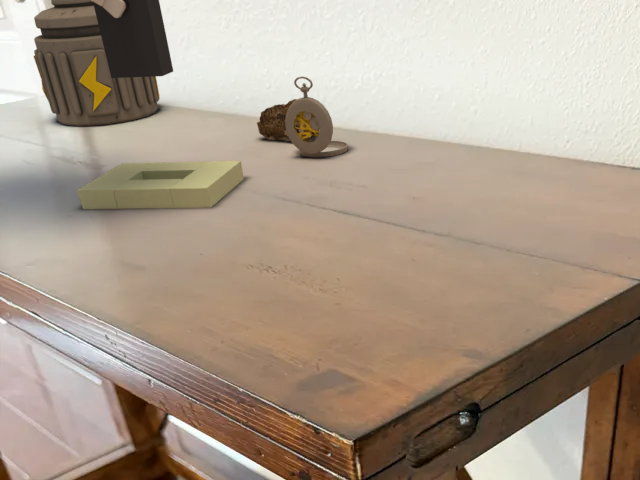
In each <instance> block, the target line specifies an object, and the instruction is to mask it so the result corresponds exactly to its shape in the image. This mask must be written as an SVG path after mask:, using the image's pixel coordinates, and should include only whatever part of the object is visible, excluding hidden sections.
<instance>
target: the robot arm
mask: <svg viewBox="0 0 640 480" xmlns="http://www.w3.org/2000/svg"><path fill="white" fill-rule="evenodd" d="M91 1H93V2H95V3H96V4H98V5H100V6H102V7H103V8H105V9H106V10H107V11H108V12H109V13H110V14H111V15H112V16H113V17H114V18H119V17H122V16H125V14H126V12H127V10H128V8H129V2H128V1H127V0H91Z"/></svg>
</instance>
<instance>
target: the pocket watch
mask: <svg viewBox="0 0 640 480" xmlns="http://www.w3.org/2000/svg"><path fill="white" fill-rule="evenodd" d="M300 79H304V80H306V81H308V82H309V83H310V85H309V86H307V83H306V82H303V83H302V84H301V87H300V86H299V85H298V84H297V82H298V80H300ZM293 84H294V86H295V88H297V89H298V90H300V92H301V93H303V97H299V98H296V99H297V100H296V101H294V102H293V103H292V104H291V105H290V107H289V109H288V111H287V113H286V118H285V125H286V131H287V134H288V136H289V139H290V140H291V141H290V142H291V143H292V145H293V146H294V147H295V148H296V149H298V151H299V154H300V155H301V156H303V157H305V158H330V157H336V156H339V155H342V154H344V153H346V152H347V151H348V150H349V144H348V143H347V142H345V141H340V140H332V138H333V134H334V124H333V120H332V117H331V115H330V112H329V111H328V109H327V107H325V105H324V104H323V103H322V102H320V101H319V100H318V99H315V98H313V97H309V96H308V93H309V92H310V90H311V89H312V88H313V86H314V83H313V81H312V80H311V79H310V78H309V77H307V76H298V77H296V78H295V79H294V81H293ZM299 117H300V118H301V119H300V118H299ZM298 119H299V120H298ZM297 121H298V122H299V123H301V125H300V124H299V123H297ZM298 124H299V125H300V126H298ZM303 124H304V125H303ZM305 125H306V126H305ZM300 129H303V130H300ZM299 130H300V131H305V132H302V133H300V132H299ZM316 130H317V131H316ZM304 135H305V136H304ZM313 135H315V138H314V140H311V139H309V138H311V137H313ZM327 148H338V149H335V150H334V149H333V150H328V151H325V150H326V149H327Z"/></svg>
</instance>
